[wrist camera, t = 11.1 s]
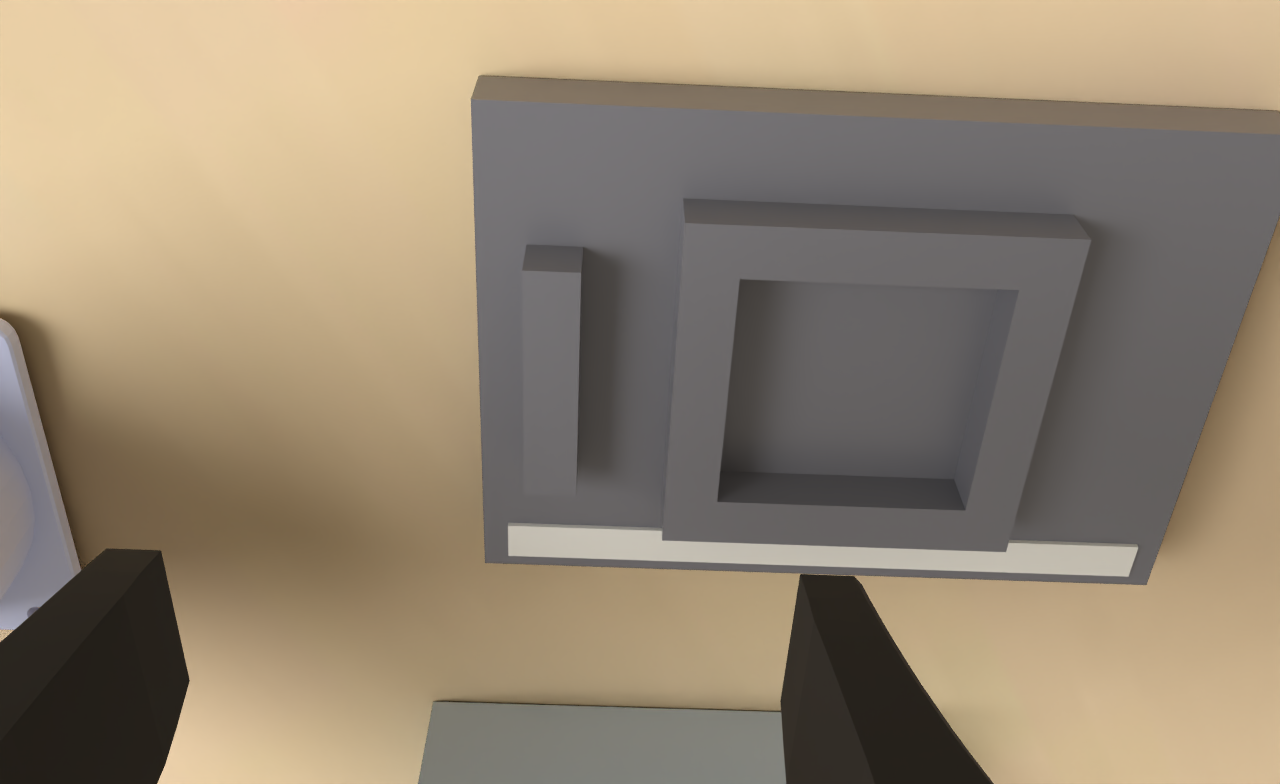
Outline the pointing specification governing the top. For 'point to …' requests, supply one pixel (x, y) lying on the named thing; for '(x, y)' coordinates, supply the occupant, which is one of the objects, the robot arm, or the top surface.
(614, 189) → the grey socket base
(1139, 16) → the top surface
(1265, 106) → the top surface
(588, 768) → the parts tray
